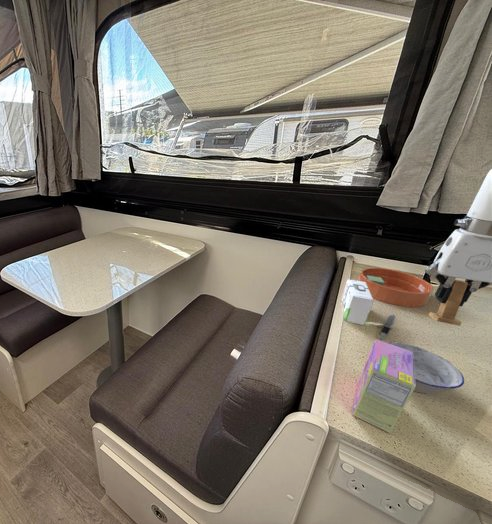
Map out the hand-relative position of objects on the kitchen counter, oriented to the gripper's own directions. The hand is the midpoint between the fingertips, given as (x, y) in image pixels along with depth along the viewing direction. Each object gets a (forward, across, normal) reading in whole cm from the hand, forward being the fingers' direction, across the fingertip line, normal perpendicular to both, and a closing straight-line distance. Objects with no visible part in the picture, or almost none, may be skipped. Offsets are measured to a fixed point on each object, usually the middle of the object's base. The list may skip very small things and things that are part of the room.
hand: (448, 301), depth 64 cm
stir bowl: (+13, -1, +27) cm, 30 cm away
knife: (+13, -7, +4) cm, 15 cm away
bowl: (+13, -8, -16) cm, 22 cm away
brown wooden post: (+4, 0, -2) cm, 5 cm away
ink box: (+8, -15, +2) cm, 17 cm away
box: (+13, -17, -28) cm, 35 cm away
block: (+12, -6, +27) cm, 30 cm away
